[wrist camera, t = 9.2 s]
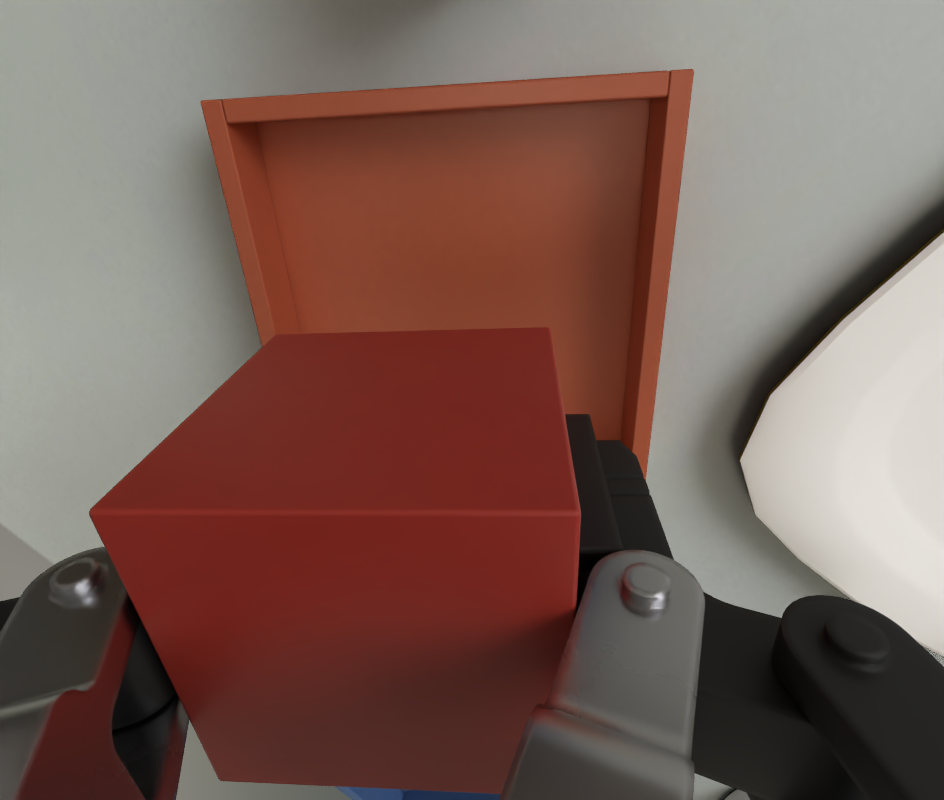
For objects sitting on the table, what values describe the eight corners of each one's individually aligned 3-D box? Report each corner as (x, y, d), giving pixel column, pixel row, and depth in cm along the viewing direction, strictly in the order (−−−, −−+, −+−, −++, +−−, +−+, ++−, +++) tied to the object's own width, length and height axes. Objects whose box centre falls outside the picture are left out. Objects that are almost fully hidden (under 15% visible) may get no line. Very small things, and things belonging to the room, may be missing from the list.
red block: (324, 541, 12) (218, 782, 8) (274, 333, 10) (84, 511, 6) (547, 543, 12) (567, 799, 7) (550, 325, 9) (581, 513, 5)
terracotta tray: (317, 452, 23) (297, 488, 21) (239, 101, 17) (199, 100, 15) (631, 449, 22) (645, 487, 20) (669, 74, 16) (695, 68, 14)
